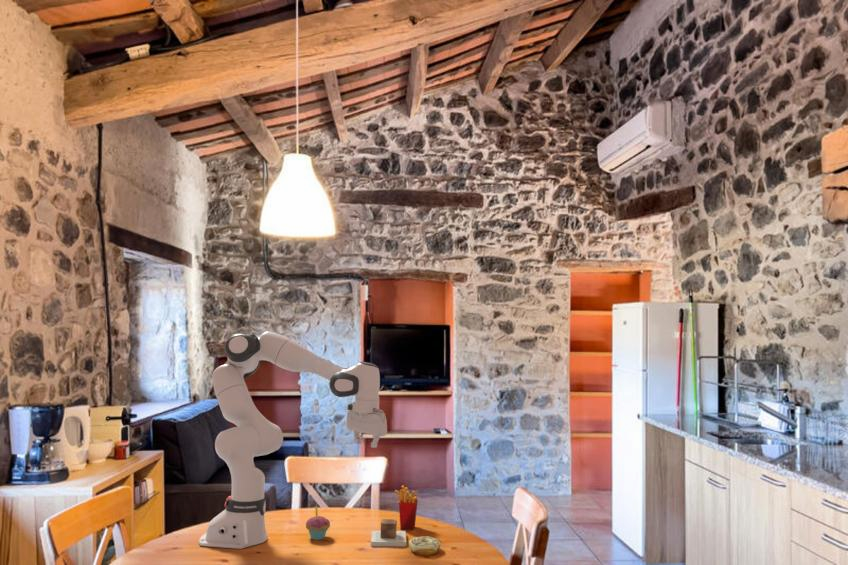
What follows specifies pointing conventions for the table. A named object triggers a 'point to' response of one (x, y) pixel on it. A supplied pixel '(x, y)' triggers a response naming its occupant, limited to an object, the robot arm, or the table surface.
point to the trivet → (388, 539)
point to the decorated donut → (424, 545)
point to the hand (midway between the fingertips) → (366, 445)
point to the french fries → (407, 508)
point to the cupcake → (317, 526)
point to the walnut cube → (388, 528)
